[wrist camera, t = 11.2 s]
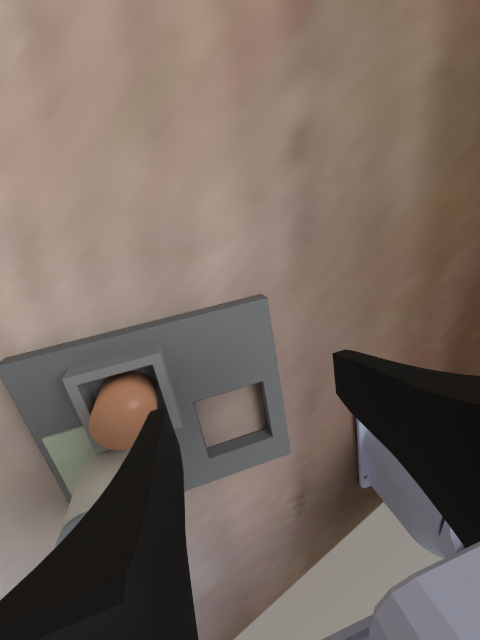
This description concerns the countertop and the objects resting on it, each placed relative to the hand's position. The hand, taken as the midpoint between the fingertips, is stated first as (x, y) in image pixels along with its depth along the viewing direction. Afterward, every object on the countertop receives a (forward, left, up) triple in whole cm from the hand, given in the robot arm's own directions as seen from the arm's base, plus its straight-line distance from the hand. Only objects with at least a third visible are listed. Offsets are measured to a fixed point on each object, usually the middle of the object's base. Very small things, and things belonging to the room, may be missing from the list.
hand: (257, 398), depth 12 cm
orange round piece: (-3, +7, -8) cm, 11 cm away
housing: (-6, +5, -10) cm, 12 cm away
